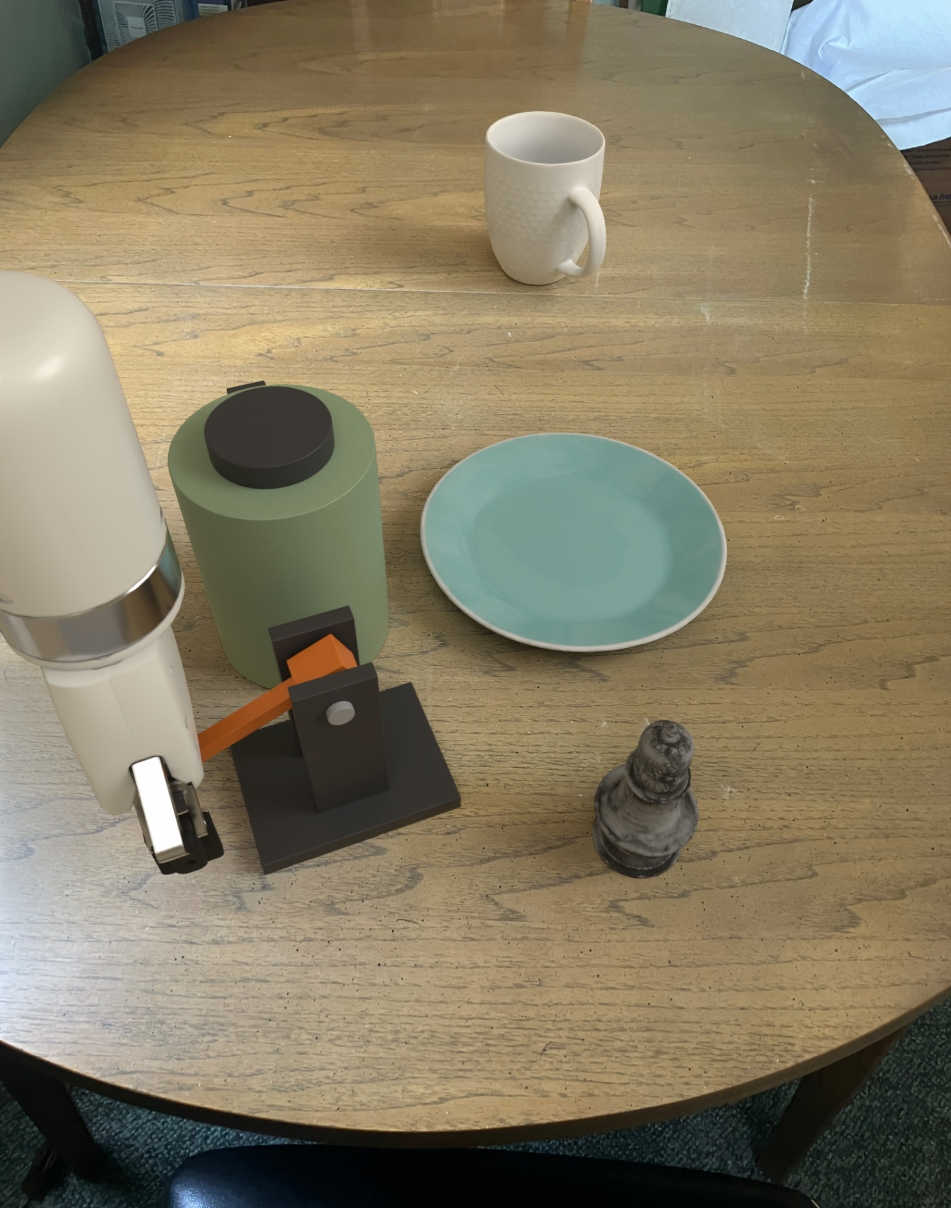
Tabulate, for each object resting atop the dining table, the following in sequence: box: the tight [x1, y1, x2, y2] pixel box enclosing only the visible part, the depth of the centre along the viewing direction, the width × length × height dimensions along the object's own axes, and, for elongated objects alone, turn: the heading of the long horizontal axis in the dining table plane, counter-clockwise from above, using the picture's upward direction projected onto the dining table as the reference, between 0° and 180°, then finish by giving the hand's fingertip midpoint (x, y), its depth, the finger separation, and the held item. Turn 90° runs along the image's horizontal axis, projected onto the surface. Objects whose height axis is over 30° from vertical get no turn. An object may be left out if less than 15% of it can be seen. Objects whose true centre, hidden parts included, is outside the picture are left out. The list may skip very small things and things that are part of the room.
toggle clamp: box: [228, 606, 462, 876], centre depth 53 cm, size 12×9×13 cm
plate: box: [419, 431, 728, 653], centre depth 69 cm, size 22×22×3 cm
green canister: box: [167, 380, 390, 690], centre depth 60 cm, size 12×13×18 cm
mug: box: [483, 110, 607, 286], centre depth 90 cm, size 15×11×13 cm
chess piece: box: [591, 719, 700, 879], centre depth 51 cm, size 6×6×12 cm
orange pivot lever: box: [164, 634, 357, 815], centre depth 50 cm, size 12×5×2 cm, turn 112°
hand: (176, 783), depth 52 cm, fingers open, 9 cm apart
